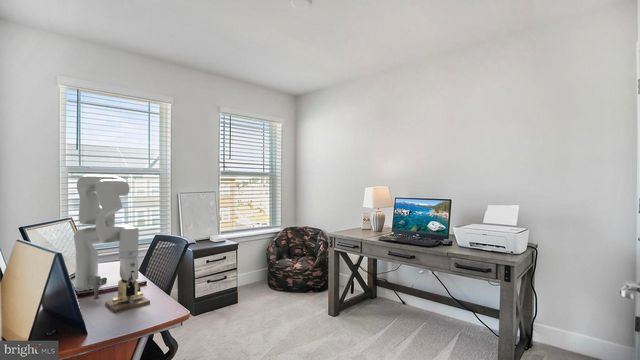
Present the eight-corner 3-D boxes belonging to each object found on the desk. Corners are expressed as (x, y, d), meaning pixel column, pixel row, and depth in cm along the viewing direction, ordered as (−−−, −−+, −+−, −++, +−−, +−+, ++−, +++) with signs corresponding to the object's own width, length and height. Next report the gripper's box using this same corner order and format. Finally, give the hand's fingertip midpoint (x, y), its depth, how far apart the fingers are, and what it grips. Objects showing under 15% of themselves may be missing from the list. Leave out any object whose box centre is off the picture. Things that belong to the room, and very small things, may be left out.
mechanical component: (102, 299, 148) (102, 278, 148) (84, 298, 150) (85, 277, 150) (107, 297, 151) (108, 276, 151) (90, 295, 153) (90, 275, 153)
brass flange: (139, 293, 150) (139, 276, 150) (144, 296, 146) (144, 278, 146) (110, 300, 140) (110, 282, 141) (114, 303, 137) (115, 285, 137)
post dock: (105, 305, 142) (105, 288, 142) (138, 297, 153) (139, 281, 153) (114, 313, 134) (115, 295, 134) (149, 303, 144) (150, 287, 144)
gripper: (145, 255, 141) (144, 296, 140) (130, 250, 152) (130, 287, 152) (126, 258, 135) (125, 300, 135) (112, 252, 146) (112, 291, 146)
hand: (127, 293), depth 143 cm, fingers closed on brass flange, 6 cm apart
